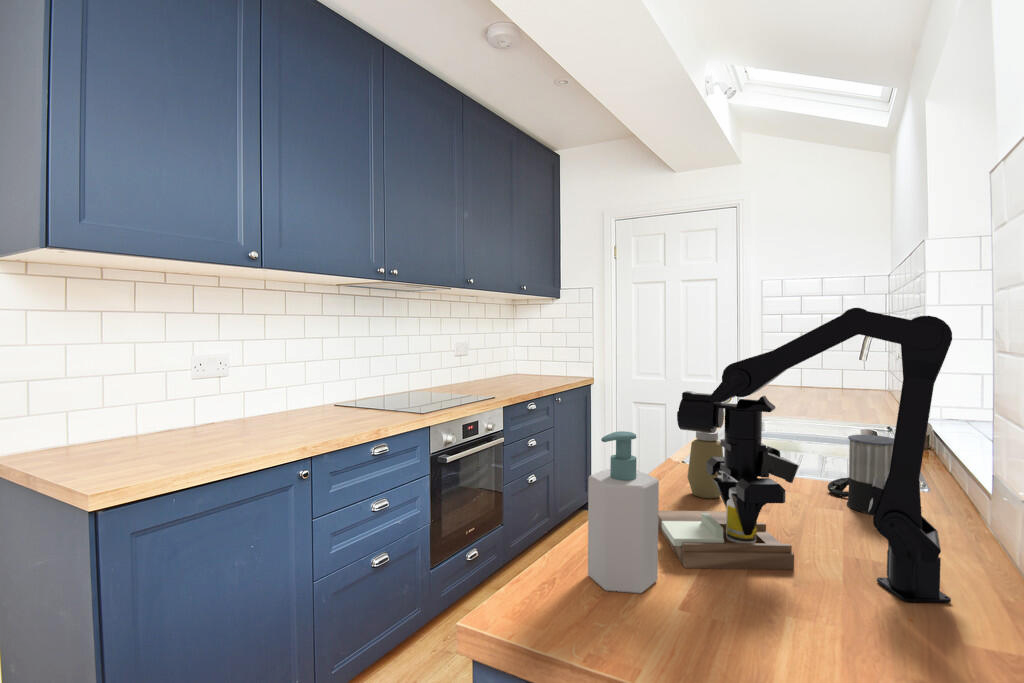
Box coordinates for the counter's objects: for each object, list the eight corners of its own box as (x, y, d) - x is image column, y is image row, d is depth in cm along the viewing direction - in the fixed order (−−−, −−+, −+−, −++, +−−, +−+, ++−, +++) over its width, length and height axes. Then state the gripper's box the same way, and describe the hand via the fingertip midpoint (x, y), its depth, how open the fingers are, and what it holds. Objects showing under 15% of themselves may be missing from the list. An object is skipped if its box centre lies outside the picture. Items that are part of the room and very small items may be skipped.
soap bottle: (579, 569, 88) (580, 429, 87) (629, 560, 91) (631, 425, 90) (613, 599, 78) (615, 442, 77) (668, 588, 81) (670, 437, 81)
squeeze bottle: (733, 498, 124) (734, 417, 123) (703, 502, 121) (705, 419, 120) (707, 488, 131) (709, 411, 131) (679, 492, 128) (680, 413, 128)
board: (793, 569, 88) (794, 548, 88) (684, 568, 88) (685, 546, 88) (744, 523, 108) (744, 506, 108) (655, 522, 108) (655, 505, 108)
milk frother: (887, 519, 111) (888, 445, 110) (806, 499, 124) (807, 432, 123) (915, 506, 119) (917, 436, 119) (837, 488, 132) (838, 425, 131)
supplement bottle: (759, 546, 91) (760, 495, 91) (728, 544, 92) (729, 493, 92) (752, 535, 96) (753, 486, 95) (723, 533, 97) (724, 485, 96)
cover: (723, 546, 90) (724, 529, 90) (673, 545, 90) (673, 528, 90) (707, 528, 98) (707, 512, 98) (661, 527, 98) (661, 511, 98)
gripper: (821, 448, 84) (819, 552, 84) (767, 426, 102) (766, 511, 103) (746, 448, 84) (745, 551, 85) (706, 426, 103) (705, 510, 103)
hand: (741, 529), depth 94 cm, fingers closed on supplement bottle, 5 cm apart
